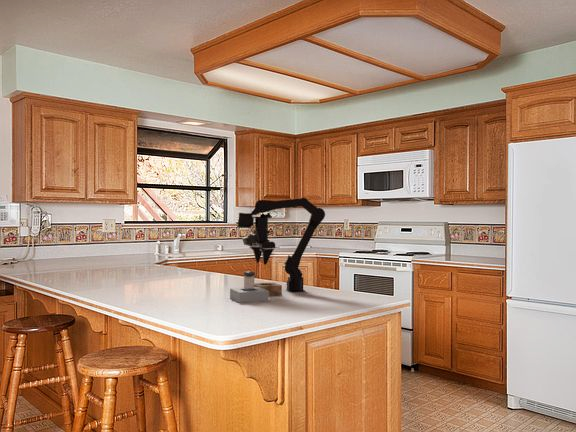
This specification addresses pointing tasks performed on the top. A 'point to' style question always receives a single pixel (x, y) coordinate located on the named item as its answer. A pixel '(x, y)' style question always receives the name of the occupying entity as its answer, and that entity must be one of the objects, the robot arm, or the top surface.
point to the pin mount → (270, 287)
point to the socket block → (249, 295)
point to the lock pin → (248, 280)
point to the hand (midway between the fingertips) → (261, 263)
